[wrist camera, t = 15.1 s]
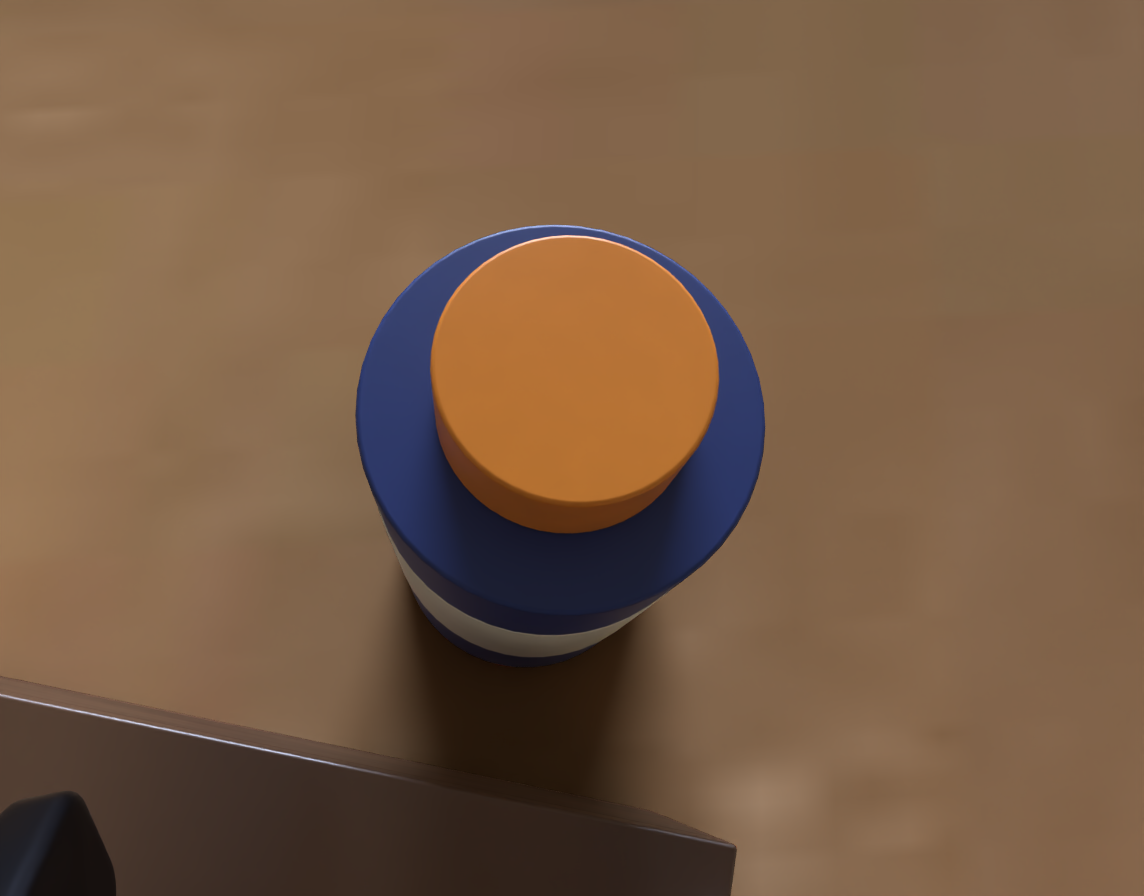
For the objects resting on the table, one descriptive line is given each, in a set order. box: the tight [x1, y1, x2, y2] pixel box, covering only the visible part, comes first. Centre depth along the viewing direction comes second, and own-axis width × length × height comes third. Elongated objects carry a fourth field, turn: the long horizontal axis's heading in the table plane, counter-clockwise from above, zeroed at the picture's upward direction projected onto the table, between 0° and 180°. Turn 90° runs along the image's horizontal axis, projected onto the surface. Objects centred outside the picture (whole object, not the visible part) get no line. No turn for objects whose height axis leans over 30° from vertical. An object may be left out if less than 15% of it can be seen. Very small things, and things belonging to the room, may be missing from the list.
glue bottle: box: [356, 225, 765, 667], centre depth 15 cm, size 5×5×10 cm
